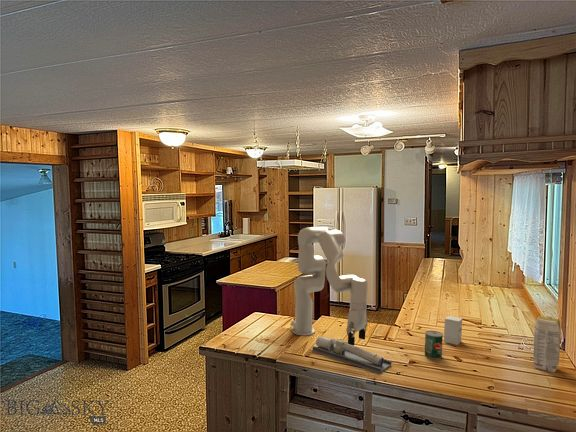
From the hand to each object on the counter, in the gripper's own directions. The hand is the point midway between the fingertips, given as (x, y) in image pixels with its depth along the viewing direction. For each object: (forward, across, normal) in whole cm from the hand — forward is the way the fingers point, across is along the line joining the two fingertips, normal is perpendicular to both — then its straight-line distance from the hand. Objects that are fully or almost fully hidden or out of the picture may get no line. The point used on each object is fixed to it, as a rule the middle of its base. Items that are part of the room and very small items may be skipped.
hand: (356, 341), depth 179 cm
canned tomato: (+8, -30, +25) cm, 40 cm away
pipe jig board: (+9, 0, -3) cm, 9 cm away
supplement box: (+9, -56, +26) cm, 62 cm away
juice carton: (+8, -51, +68) cm, 85 cm away
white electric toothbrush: (+8, 0, +1) cm, 8 cm away
